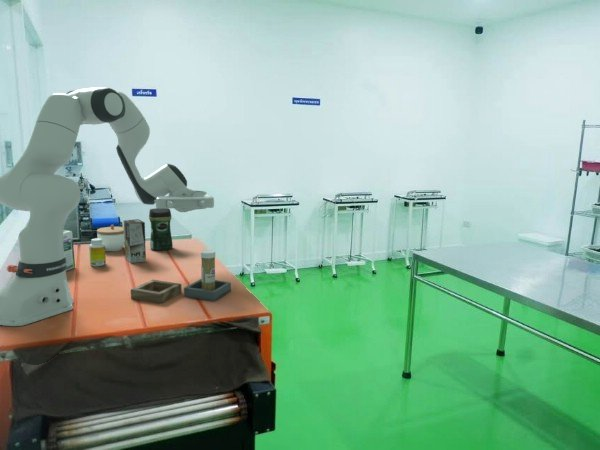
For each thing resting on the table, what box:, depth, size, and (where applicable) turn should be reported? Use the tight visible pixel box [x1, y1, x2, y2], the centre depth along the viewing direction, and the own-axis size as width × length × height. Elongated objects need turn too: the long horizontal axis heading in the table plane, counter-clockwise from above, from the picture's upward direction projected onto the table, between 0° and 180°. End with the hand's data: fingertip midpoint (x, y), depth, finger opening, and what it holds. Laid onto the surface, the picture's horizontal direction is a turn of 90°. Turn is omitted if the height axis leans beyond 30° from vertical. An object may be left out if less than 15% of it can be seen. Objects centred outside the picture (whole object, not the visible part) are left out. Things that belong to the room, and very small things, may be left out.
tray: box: [183, 278, 232, 303], centre depth 147 cm, size 11×11×3 cm
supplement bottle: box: [88, 237, 107, 267], centre depth 175 cm, size 6×6×10 cm
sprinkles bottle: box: [200, 249, 216, 291], centre depth 147 cm, size 5×5×14 cm
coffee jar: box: [148, 207, 173, 251], centre depth 202 cm, size 10×8×19 cm
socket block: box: [130, 279, 182, 304], centre depth 144 cm, size 11×11×3 cm
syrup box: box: [63, 229, 76, 272], centre depth 168 cm, size 6×6×14 cm
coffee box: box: [122, 218, 147, 264], centre depth 183 cm, size 9×6×16 cm
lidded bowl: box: [96, 224, 125, 252], centre depth 200 cm, size 13×13×11 cm
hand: (187, 205), depth 155 cm, fingers open, 8 cm apart
